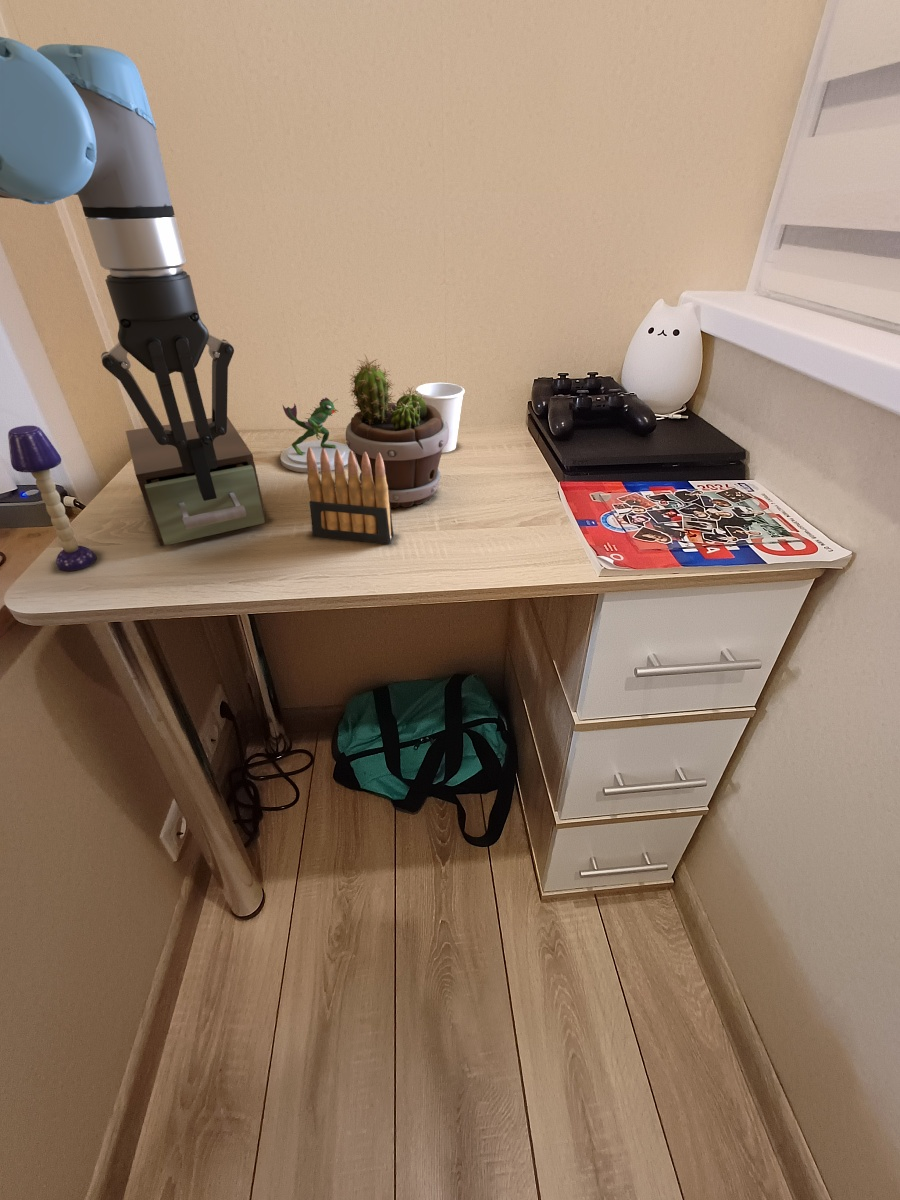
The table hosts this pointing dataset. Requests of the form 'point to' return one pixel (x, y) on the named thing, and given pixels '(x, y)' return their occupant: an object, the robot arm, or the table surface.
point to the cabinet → (166, 461)
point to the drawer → (205, 503)
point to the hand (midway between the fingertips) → (208, 494)
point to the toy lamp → (47, 490)
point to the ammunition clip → (349, 500)
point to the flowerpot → (397, 436)
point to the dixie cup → (445, 406)
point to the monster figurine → (297, 453)
